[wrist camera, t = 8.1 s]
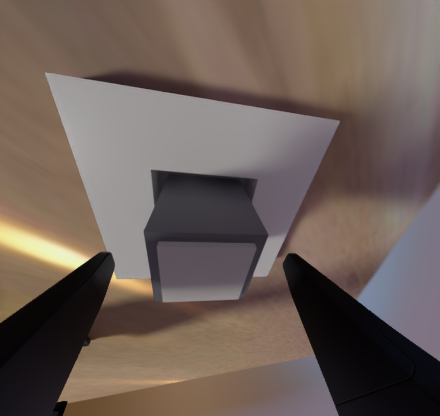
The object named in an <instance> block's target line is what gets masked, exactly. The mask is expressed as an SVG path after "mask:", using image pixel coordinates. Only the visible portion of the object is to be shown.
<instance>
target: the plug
mask: <svg viewBox="0 0 440 416" xmlns="http://www.w3.org/2000/svg"><path fill="white" fill-rule="evenodd" d="M268 236H269V235H268V233H267V231H266V229H265V227H264V225H263V223H262V221H261V220H260V218H259V216H258V214H257V212H256V210H255V208H254V206H253V204H252V203H251V201H250V199H249V197H248V195H247V193H246V191H245V189H244V188H243V186H242V184H241V182H240V180H237V179H226V178H214V177H203V176H191V175H180V174H169V175H168V177H167V180H166V182H165V184H164V186H163V189H162V191H161V193H160V195H159V198H158V200H157V202H156V204H155V207H154V209H153V211H152V213H151V216H150V218H149V220H148V222H147V225H146V227H145V229H144V238H145V244H146V250H147V257H148V263H149V269H150V275H151V282H152V288H153V294H154V300H155V302H187V301H212V300H237V299H243V298H244V297H245V294H246V292H247V289H248V286H249V284H250V281H251V279H252V276H253V274H254V271H255V269H256V266H257V264H258V261H259V259H260V256H261V253H262V251H263V248H264V246H265V243H266V241H267V238H268Z"/></svg>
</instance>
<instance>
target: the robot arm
mask: <svg viewBox="0 0 440 416" xmlns="http://www.w3.org/2000/svg"><path fill="white" fill-rule="evenodd" d="M114 268H115V262H114V259H113V256H112V253H111V252H100V253H98V254H97V255H95V256H94V257H92V258H91V259H90V260H88V261H87V262H85V263H84V264H83V265H81V266H80V267H78V268H77V269H76V270H74V271H73V272H71V273H70V274H69V275H67V276H66V277H64V278H63V279H62V280H60V281H59V282H57V283H56V284H55V285H53V286H52V287H50V288H49V289H48V290H46V291H45V292H43V293H42V294H40V295H39V296H38V297H36V298H35V299H33V300H32V301H31V302H29V303H28V304H26V305H25V306H24V307H22V308H21V309H19V310H18V311H17V312H15V313H14V314H12V315H11V316H10V317H8V318H7V319H5V320H4V321H3V322H1V323H0V416H63V413H64V410H65V408H66V405H67V402H68V401H61V402H57V401H58V399H59V397H60V395H61V392H62V390H63V388H64V386H65V384H66V381H67V379H68V377H69V375H70V373H71V371H72V368H73V366H74V364H75V362H76V360H77V358H78V355H79V353H80V351H81V349H82V347H83V346H89V344H90V340H89V339H88V337H87V336H88V334H89V331H90V329H91V327H92V325H93V323H94V321H95V318H96V316H97V314H98V312H99V310H100V308H101V305H102V303H103V300H104V298H105V295H106V292H107V289H108V286H109V283H110V280H111V277H112V274H113V271H114ZM283 269H284V272H285V276H286V279H287V282H288V286H289V289H290V292H291V295H292V298H293V301H294V303H295V306H296V308H297V311H298V313H299V316H300V318H301V321H302V323H303V326H304V328H305V331H306V334H307V336H308V339H309V341H310V344H311V346H312V349H313V351H314V354H315V356H316V359H317V361H318V364H319V366H320V369H321V371H322V374H323V376H324V378H325V381H326V384H327V386H328V389H329V392H330V394H331V396H332V399H333V401H334V404H335V407H336V410H337V412H338V415H339V416H440V361H438V360H437V359H436V358H434V357H433V356H431V355H430V354H428V353H427V352H426V351H424V350H422V349H421V348H420V347H418V346H417V345H416V344H414V343H413V342H411V341H410V340H409V339H407V338H406V337H404V336H403V335H401V334H400V333H399V332H397V331H396V330H395V329H393V328H392V327H391V326H389V325H388V324H387V323H385V322H384V321H383V320H381V319H380V318H379V317H377V316H376V315H375V314H374V313H372V312H371V311H370V310H368V309H367V308H366V307H365V306H363V305H362V304H361V303H359V302H358V301H357V300H355V299H354V298H353V297H352V296H350V295H349V294H348V293H346V292H345V291H344V290H343V289H341V288H340V287H339V286H337V285H336V284H335V283H333V282H332V281H331V280H330V279H328V278H327V277H326V276H324V275H323V274H322V273H321V272H319V271H318V270H317V269H315V268H314V267H313V266H311V265H310V264H309V263H308V262H306V261H305V260H304V259H302V258H301V257H300V256H299V255H297V254H295V253H289V254H287V256H286V258H285V260H284V262H283Z"/></svg>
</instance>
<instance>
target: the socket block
mask: <svg viewBox="0 0 440 416" xmlns="http://www.w3.org/2000/svg"><path fill="white" fill-rule="evenodd" d="M45 74H46V77H47V80H48V83H49V86H50V89H51V91H52V94H53V97H54V100H55V103H56V106H57V109H58V112H59V114H60V117H61V120H62V123H63V126H64V129H65V132H66V134H67V137H68V140H69V143H70V146H71V149H72V152H73V155H74V157H75V160H76V163H77V166H78V169H79V172H80V175H81V177H82V180H83V183H84V186H85V189H86V192H87V195H88V198H89V200H90V203H91V206H92V209H93V212H94V215H95V218H96V220H97V223H98V226H99V229H100V232H101V235H102V238H103V241H104V243H105V246H106V249H107V252H111V253H112V256H113V259H114V262H115V268H114V272H115V275H116V278H117V279H146V278H151V275H150V269H149V263H148V257H147V250H146V244H145V238H144V229H145V227H146V225H147V222H148V220H149V218H150V216H151V213H152V211H153V209H154V207H155V204H156V202H157V200H158V198H159V195H160V193H161V191H162V189H163V186H164V184H165V182H166V180H167V177H168V175H169V174H180V175H191V176H203V177H214V178H226V179H237V180H240V182H241V184H242V186H243V188H244V189H245V191H246V193H247V195H248V197H249V199H250V201H251V203H252V204H253V206H254V208H255V210H256V212H257V214H258V216H259V218H260V220H261V221H262V223H263V225H264V227H265V229H266V231H267V233H268V235H269V236H268V238H267V241H266V243H265V246H264V248H263V251H262V253H261V256H260V259H259V261H258V264H257V266H256V269H255V271H254V274H253V276H252V277H265V276H268V273H269V271H270V269H271V267H272V265H273V263H274V261H275V259H276V256H277V254H278V252H279V250H280V248H281V246H282V244H283V242H284V239H285V237H286V235H287V233H288V231H289V229H290V227H291V225H292V223H293V220H294V218H295V216H296V214H297V212H298V210H299V208H300V206H301V203H302V201H303V199H304V197H305V195H306V193H307V191H308V189H309V186H310V184H311V182H312V180H313V178H314V176H315V174H316V172H317V169H318V167H319V165H320V163H321V161H322V159H323V157H324V155H325V153H326V150H327V148H328V146H329V144H330V142H331V140H332V138H333V136H334V133H335V131H336V129H337V127H338V125H339V123H340V121H337V120H331V119H325V118H319V117H313V116H307V115H300V114H294V113H288V112H282V111H276V110H270V109H264V108H258V107H252V106H246V105H240V104H234V103H228V102H222V101H216V100H209V99H203V98H197V97H191V96H185V95H179V94H173V93H167V92H161V91H155V90H149V89H143V88H137V87H131V86H125V85H119V84H112V83H106V82H100V81H94V80H88V79H82V78H76V77H70V76H64V75H58V74H52V73H46V72H45Z"/></svg>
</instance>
